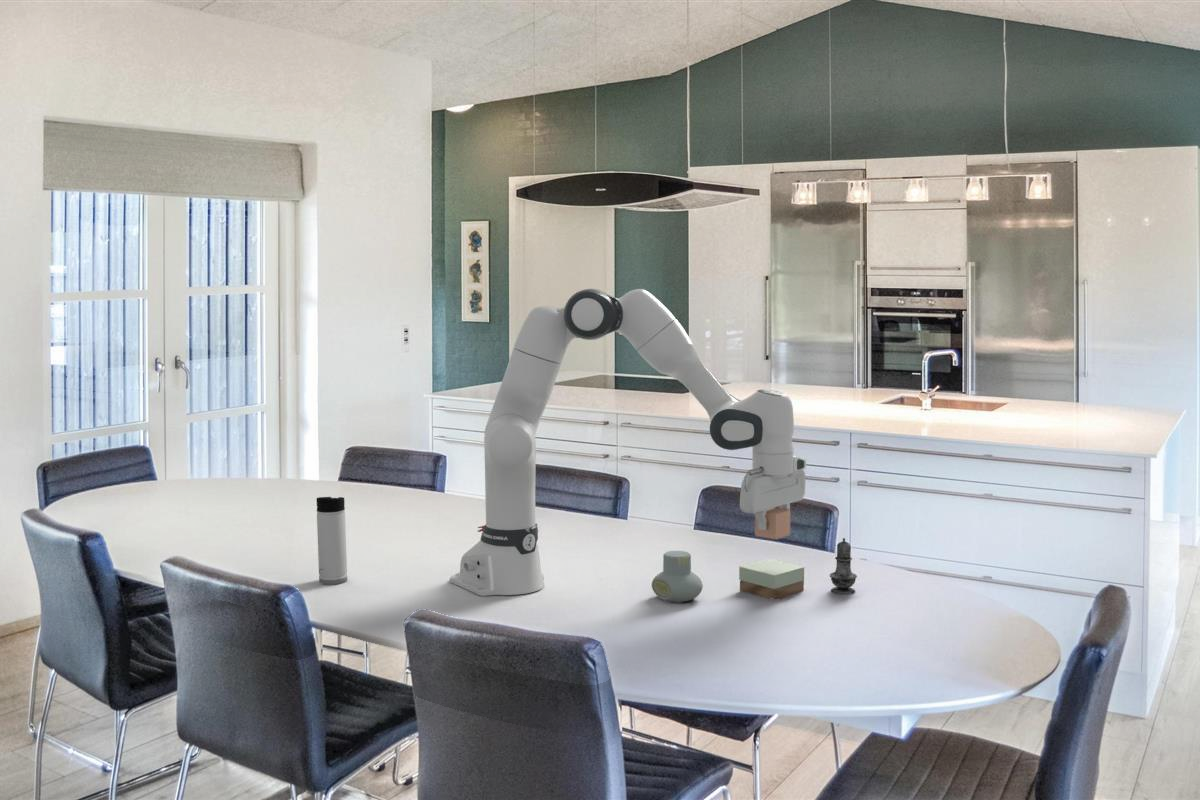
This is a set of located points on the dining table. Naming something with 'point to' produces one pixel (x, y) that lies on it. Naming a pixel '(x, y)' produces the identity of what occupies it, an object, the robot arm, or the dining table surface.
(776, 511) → the terracotta block
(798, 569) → the sage top block
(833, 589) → the dark turned finial
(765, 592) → the walnut base block
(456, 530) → the dining table surface
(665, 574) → the air freshener
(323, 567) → the travel mug
